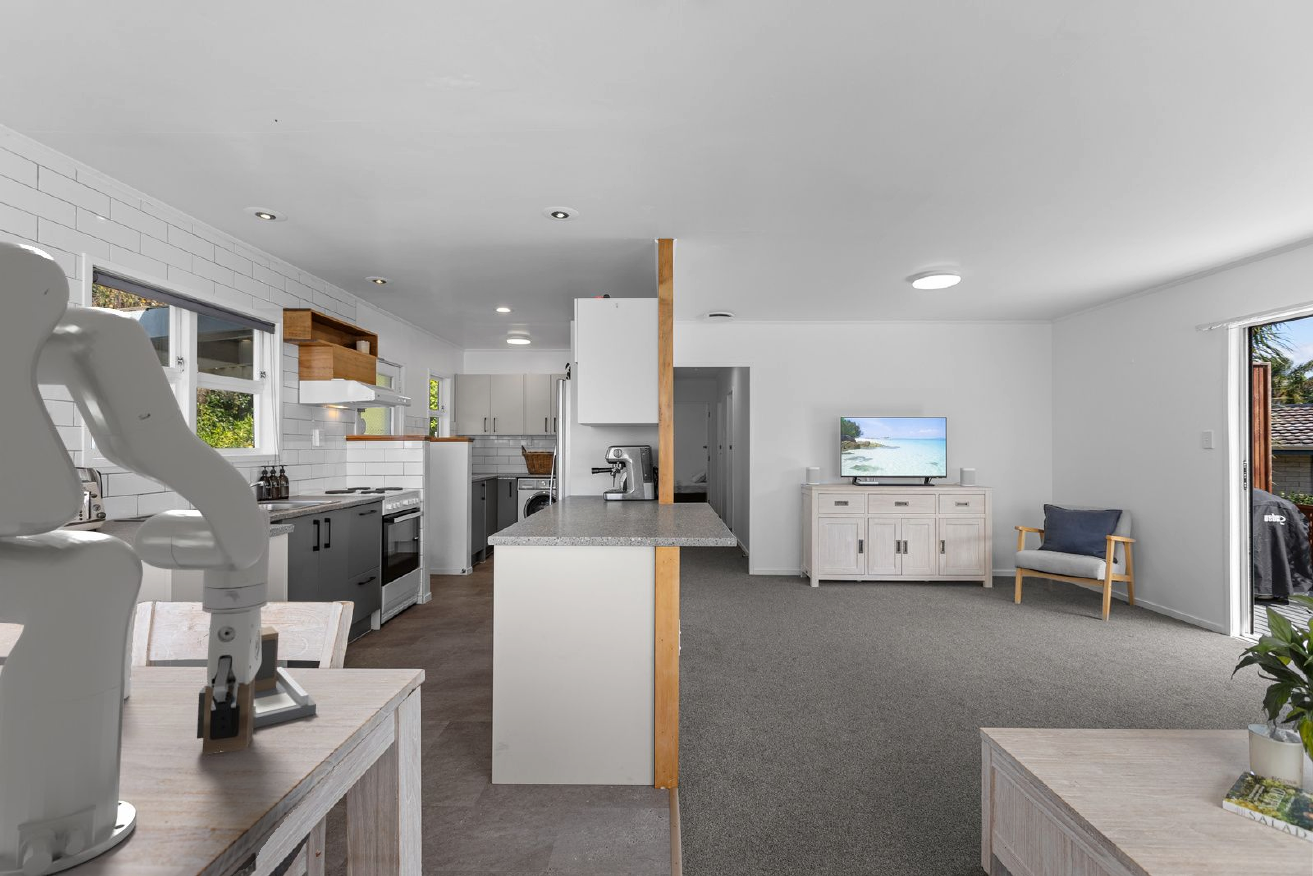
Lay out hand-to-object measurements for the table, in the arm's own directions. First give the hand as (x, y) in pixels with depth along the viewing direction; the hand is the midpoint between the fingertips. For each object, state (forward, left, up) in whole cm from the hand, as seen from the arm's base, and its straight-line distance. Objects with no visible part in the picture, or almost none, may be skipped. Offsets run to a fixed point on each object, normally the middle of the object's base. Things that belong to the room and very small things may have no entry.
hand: (231, 725), depth 88 cm
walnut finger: (0, 0, -3) cm, 3 cm away
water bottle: (+31, +13, -3) cm, 34 cm away
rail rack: (+13, -7, -3) cm, 15 cm away
